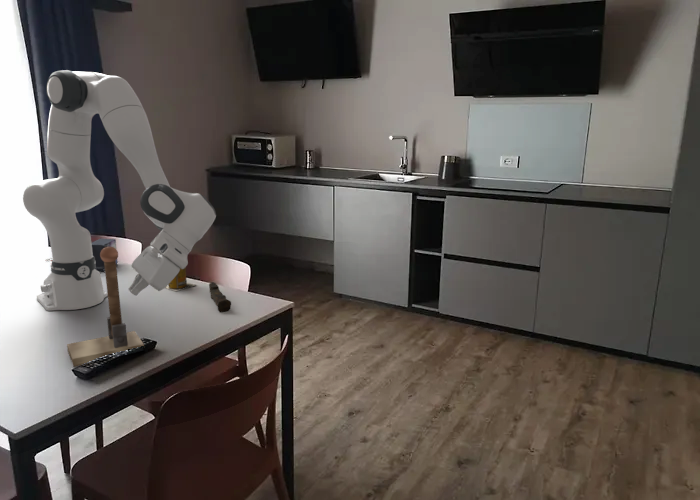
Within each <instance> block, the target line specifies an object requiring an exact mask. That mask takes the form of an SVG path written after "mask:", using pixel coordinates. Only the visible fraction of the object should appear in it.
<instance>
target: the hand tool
mask: <svg viewBox="0 0 700 500" xmlns="http://www.w3.org/2000/svg"><path fill="white" fill-rule="evenodd" d="M208 286H209V293H210V298H211V300H212V301H213V302H214V304H215V305H216V306H217V311H218V312H219V313H226V312H227V313H228V312H229V311H231V306H232V301H231V300H229V299H227V297H226V295H225V294H223V293H222V291H220V288H219V285H218V284H217V283H215V282H213V281H212V282H210V283H208Z"/></svg>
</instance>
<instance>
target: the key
mask: <svg viewBox="0 0 700 500" xmlns="http://www.w3.org/2000/svg"><path fill="white" fill-rule="evenodd" d="M50 259H53V257H50V258H45V261H50V262H49V263H50V265H49V267H51V263H52V261H51V260H50Z"/></svg>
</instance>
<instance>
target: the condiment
mask: <svg viewBox="0 0 700 500" xmlns="http://www.w3.org/2000/svg"><path fill="white" fill-rule="evenodd" d="M179 268H180V267H179ZM186 269H187V266H186V267H185V268H184V269H181V268H180V271H179V273H178V274H177V275H176V276H175V278H174V279H173V280H172V281H171V282H170V283H169V284H168V285H167V286H166V287H165V288H164V289H168V290H170V291H174V292H177V291H181V290H185V289H188V288H192V287H194V286H196V284H193V283H191V282H188V280H187V270H186Z"/></svg>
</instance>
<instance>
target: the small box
mask: <svg viewBox="0 0 700 500" xmlns="http://www.w3.org/2000/svg"><path fill="white" fill-rule="evenodd" d="M116 241H117V239H116V238H99V239H96V240H94V241H91V243H92V252H93V256H94V257H95V261H96V268H95V269H96V270H97V271H98V272H104V271H105V266H104V261H103V260H102V259H101V257H100V253H101V251H102V249H103V248H105V247H109V246H110V247H114V248H115V249H116V250H117V242H116ZM117 263H118V259H117V260H116V264H117ZM118 264H119V263H118Z"/></svg>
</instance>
